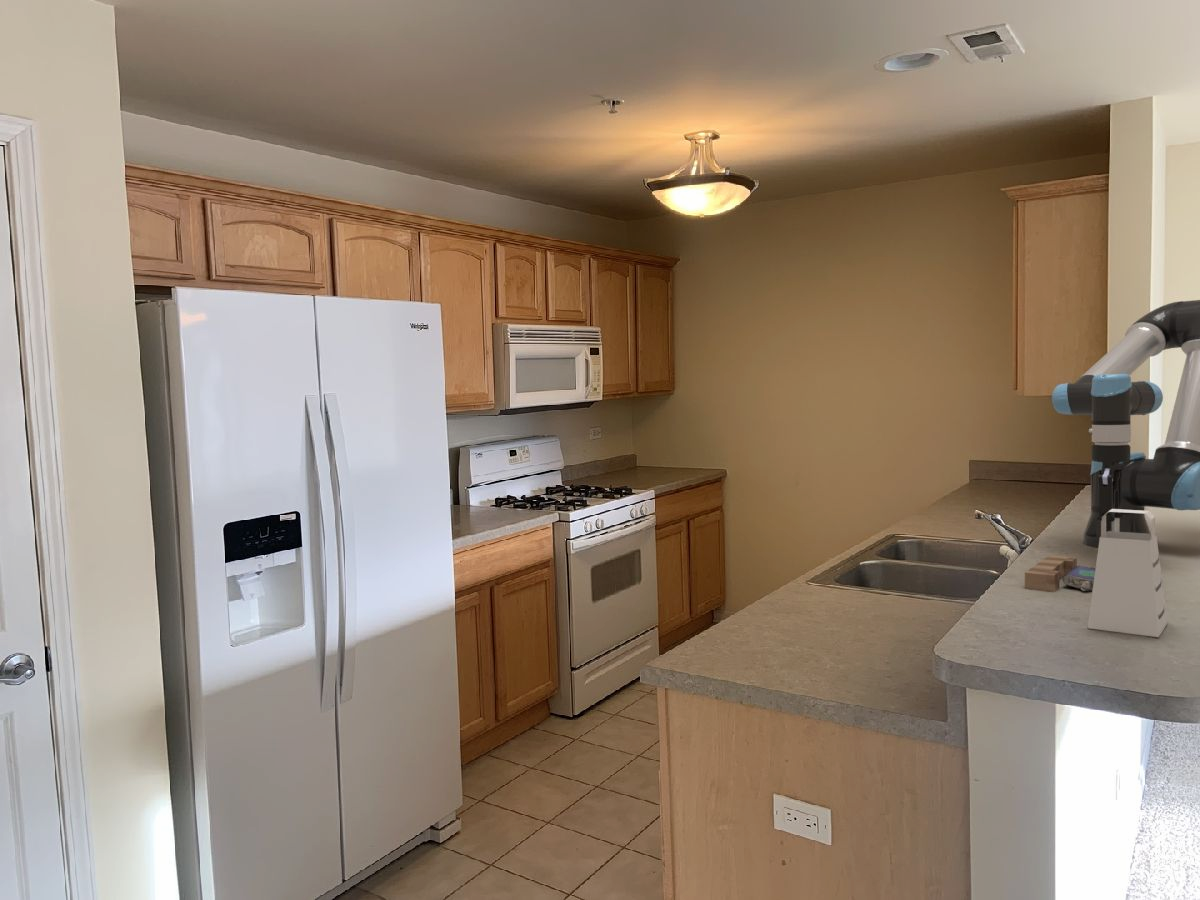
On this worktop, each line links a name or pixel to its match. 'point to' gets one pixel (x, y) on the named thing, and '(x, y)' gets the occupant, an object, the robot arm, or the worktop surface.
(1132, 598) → the grater
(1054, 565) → the holder
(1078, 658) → the worktop surface
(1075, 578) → the flask
